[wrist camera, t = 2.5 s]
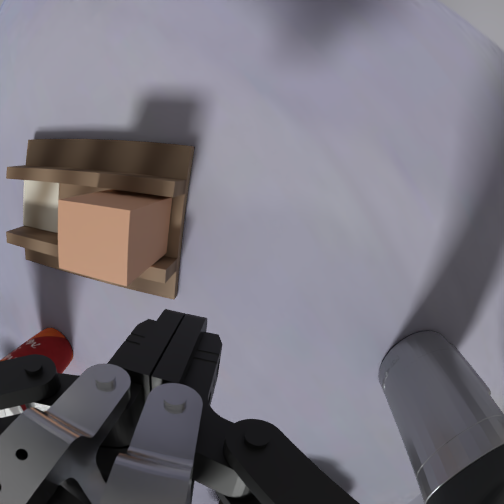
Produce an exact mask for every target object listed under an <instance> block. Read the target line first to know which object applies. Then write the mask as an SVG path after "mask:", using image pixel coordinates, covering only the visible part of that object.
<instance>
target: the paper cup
mask: <svg viewBox="0 0 504 504" xmlns="http://www.w3.org/2000/svg"><path fill="white" fill-rule="evenodd" d="M32 354H39V355H44V356H47V357H48V358H50V359H51V360H52V361H53V362H54V363H55V366H56V369H57V373H63V371H64V370H65V369H66V367H67V366H68V365H69V363H70V362H71V360H72V358H73V350H72V347H71V345H70V343H69V342H68V340H67V339H66V337H65V336H64V335H63V334H62V333H61V332H59V331H58V330H56V329H54V328H46V329H44V330H43V331H41V332H40V333H38V334H36V335H35V336H34V337H32V338H31V339H29V340H28V341H26V342H25V343H24V344H22V345H21V346H19V347H18V348H17V349H15V350H14V351H12V352H11V353H10V354H8V355H7V356H6V357H4V358H3V359H2V360H0V361H4V360H8V359H13V358H18V357H22V356H27V355H32ZM26 409H27V408H26V406H25V404H24V405H20V406H16V407H12V408H7V409H3V410H0V418H3V417H7V416H11V415H16V414H20V413H22V412H23V411H25V410H26Z"/></svg>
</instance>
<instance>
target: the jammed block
mask: <svg viewBox="0 0 504 504" xmlns="http://www.w3.org/2000/svg"><path fill="white" fill-rule="evenodd" d="M171 205H172V197H166V196H159V195H152V194H145V193H138V192H130V191H123V190H115V189H110V190H104V191H99V192H94V193H89V194H83V195H79V196H74V197H69V198H64V199H60V200H58V258H59V268H61V269H64V270H67V271H71V272H74V273H78V274H82V275H85V276H89V277H92V278H96V279H100V280H104V281H107V282H111V283H115V284H119V285H123V286H128V285H129V284H130V283H132V282H133V281H134V280H135V279H136V278H137V277H139V276H140V275H141V274H142V273H143V272H144V271H146V270H147V269H148V268H149V267H150V266H152V265H153V264H154V263H155V262H156V261H158V260H159V259H160V258H161V257H162V256H164V255H165V254H166V253H167V244H168V233H169V223H170V214H171Z"/></svg>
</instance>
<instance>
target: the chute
mask: <svg viewBox="0 0 504 504" xmlns="http://www.w3.org/2000/svg"><path fill="white" fill-rule="evenodd" d="M194 148H195V147H193V146H186V145H176V144H166V143H154V142H140V141H124V140H100V139H36V140H28V148H27V157H26V165H24V166H13V167H7V176H6V178H7V179H20V180H24V197H23V225H24V226H22V227H19V228H16V229H13V230H10V231H7V232H6V236H7V243H10V244H13V245H17V246H20V247H24V248H25V255H26V260H30V261H33V262H36V263H39V264H42V265H45V266H49V267H52V268H55V269H59V270H62V271H65V272H69V273H72V274H76V275H79V276H83V277H86V278H90V279H94V280H97V281H101V282H105V283H109V284H112V285H116V286H120V287H124V288H128V289H132V290H136V291H140V292H144V293H148V294H153V295H157V296H161V297H165V298H170V299H175V298H176V296H177V289H178V277H179V266H180V255H181V245H182V236H183V227H184V218H185V210H186V202H187V195H188V188H189V180H190V174H191V167H192V160H193V154H194ZM110 189H115V190H123V191H130V192H138V193H145V194H152V195H159V196H166V197H172V205H171V214H170V223H169V233H168V244H167V253H166V254H165V255H164V256H162V257H161V258H160V259H159V260H158V261H156V262H155V263H154V264H153V265H152V266H150V267H149V268H148V269H147V270H146V271H144V272H143V273H142V274H141V275H140V276H139V277H137V278H136V279H135V280H134V281H133V282H132V283H130V284H129V285H128V286H123V285H119V284H115V283H111V282H107V281H104V280H100V279H96V278H92V277H89V276H85V275H82V274H78V273H74V272H71V271H67V270H64V269H61V268H59V258H58V200H60V199H64V198H69V197H74V196H79V195H83V194H89V193H94V192H99V191H104V190H110Z"/></svg>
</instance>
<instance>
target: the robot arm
mask: <svg viewBox="0 0 504 504" xmlns="http://www.w3.org/2000/svg"><path fill="white" fill-rule="evenodd" d="M206 328H207V318H204V317H199V316H195V315H190V314H185V313H180V312H176V311H172V310H167V309H165V310H164V311H163V312H162V314H161V315H160V317H159V318H158V319H157V321H154V320H150V319H148V320H146V321H144V322H142V323H140V324H138V325H137V326H136V327H135V329H134V330H133V331H132V332H131V335H129V336H128V338H127V339H126V341H124V343H123V344H122V345H121V346H120V348H119V349H118V350H117V352H116V353H115V354H114V356H113V357H112V358H111V359H110V361H109V362H108V363H107V364H97V365H94V366H91V367H89V368H88V369H86V370H85V371H84V372H83V373H82V374H81V375H80V376H77V375H69V374H62V373H57V369H56V366H55V363H54V362H53V361H52V360H51V359H50V358H48V357H47V356H44V355H39V354H32V355H27V356H22V357H18V358H13V359H8V360H4V361H0V410H3V409H7V408H12V407H16V406H20V405H24V404H25V406H26V408H27V409H26V410H25V411H23V412H22V413H20V414H16V415H11V416H7V417H3V418H0V504H191V503H192V496H193V488H194V481H197V482H199V483H201V484H203V485H205V486H207V487H209V488H211V489H213V490H215V491H216V493H217V495H218V497H219V498H220V500H221V501H222V502H223V504H359V503H358V502H357V501H356V500H355V499H353V498H352V497H351V496H350V495H349V494H347V493H346V492H345V491H344V490H343V489H342V488H340V487H339V486H338V485H337V484H336V483H335V482H334V481H332V480H331V479H330V478H329V477H328V476H327V475H326V474H325V473H324V472H322V471H321V470H320V469H319V468H318V467H317V466H316V465H315V464H314V463H313V462H312V461H311V460H310V459H309V458H307V457H306V456H305V455H304V454H303V453H302V452H301V451H300V450H299V449H298V448H297V447H296V446H295V445H294V444H293V443H292V442H291V441H290V440H289V439H288V438H287V437H286V436H285V435H284V434H283V433H282V432H281V431H280V430H279V429H278V428H277V427H276V426H274V425H273V424H271V423H269V422H266V421H263V420H258V419H246V420H241V421H238V422H236V423H232V422H230V421H228V420H226V419H224V418H222V417H220V416H219V415H218V414H216V413H215V412H214V411H213V409H212V408H211V406H210V404H211V400H212V396H213V393H214V389H215V385H216V381H217V377H218V370H219V363H220V356H221V350H222V342H221V340H220V337H219V335H217V334H212V333H207V332H206ZM379 382H380V384H381V387H382V389H383V391H384V394H385V396H386V399H387V401H388V404H389V407H390V409H391V412H392V414H393V417H394V419H395V422H396V424H397V427H398V429H399V432H400V435H401V437H402V440H403V443H404V445H405V448H406V451H407V454H408V456H409V459H410V462H411V465H412V468H413V470H414V473H415V476H416V479H417V482H418V485H419V488H420V491H421V494H422V497H423V500H424V503H425V504H504V414H503V413H502V411H501V410H500V408H499V407H498V406H497V404H496V403H495V401H494V400H493V399H492V397H491V396H490V394H491V391H490V389H489V388H488V387H487V385H486V384H485V383H484V381H483V380H482V379H481V378H480V376H479V375H478V374H477V373H476V371H475V370H474V369H473V368H472V366H471V365H470V364H469V363H468V362H467V360H466V359H465V358H464V357H463V355H462V354H461V353H460V352H459V351H458V350H457V348H456V347H455V346H454V345H453V344H449V343H448V341H447V340H446V339H445V338H444V337H443V336H442V335H441V334H439V333H437V332H434V331H422V332H418V333H415V334H412V335H410V336H408V337H406V338H405V339H403V340H402V341H400V342H399V343H398V344H396V345H395V346H394V347H393V348H392V349H391V350H390V352H389V353H388V354H387V355H386V357H385V358H384V360H383V362H382V364H381V367H380V370H379Z"/></svg>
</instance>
